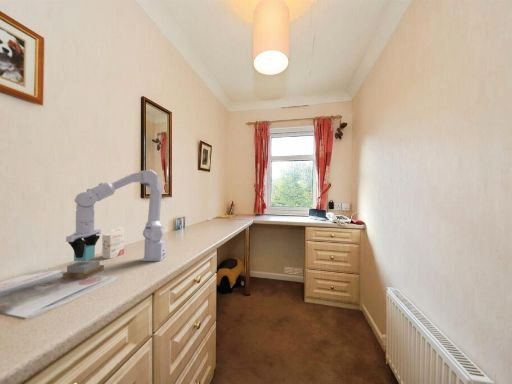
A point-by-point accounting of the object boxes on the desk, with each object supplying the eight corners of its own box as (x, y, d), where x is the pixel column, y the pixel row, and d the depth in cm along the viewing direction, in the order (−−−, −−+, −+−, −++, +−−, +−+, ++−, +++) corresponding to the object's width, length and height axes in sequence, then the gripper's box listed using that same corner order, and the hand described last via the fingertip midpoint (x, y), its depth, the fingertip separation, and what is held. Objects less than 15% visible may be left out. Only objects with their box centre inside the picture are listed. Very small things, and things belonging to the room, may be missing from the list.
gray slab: (99, 266, 84) (99, 260, 84) (84, 273, 77) (84, 266, 77) (83, 266, 85) (83, 260, 85) (67, 272, 78) (67, 266, 78)
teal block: (94, 257, 84) (94, 245, 84) (85, 260, 79) (85, 248, 79) (83, 257, 84) (83, 245, 84) (73, 260, 79) (74, 248, 79)
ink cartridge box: (116, 253, 109) (116, 225, 109) (124, 253, 108) (124, 226, 108) (101, 258, 101) (101, 228, 101) (109, 258, 100) (110, 229, 100)
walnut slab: (103, 271, 86) (103, 265, 86) (86, 280, 77) (86, 273, 77) (82, 270, 86) (82, 265, 86) (62, 280, 77) (62, 273, 77)
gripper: (89, 219, 89) (89, 250, 89) (57, 224, 74) (57, 261, 74) (105, 219, 89) (105, 250, 89) (77, 224, 74) (76, 261, 74)
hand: (84, 255), depth 81 cm, fingers closed on teal block, 4 cm apart
